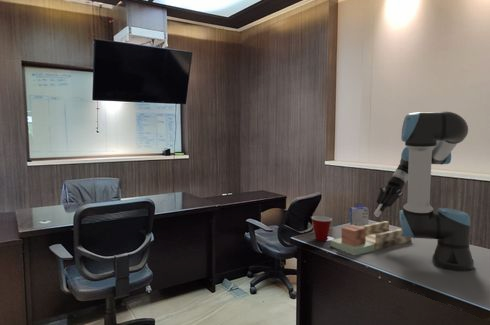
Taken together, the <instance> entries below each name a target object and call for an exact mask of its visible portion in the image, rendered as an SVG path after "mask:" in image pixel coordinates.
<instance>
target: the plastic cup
mask: <svg viewBox="0 0 490 325" xmlns="http://www.w3.org/2000/svg"><path fill="white" fill-rule="evenodd" d="M311 219H312V225H313V230H314V236H315V240H316V241H318V242H325V241H327V240H328V236H329V233H330V232H329V231H330V226H331V222H332V221H333V218H331V217H330V216H329V217H328V216H325V215H324V216H323V215H312V216H311Z"/></svg>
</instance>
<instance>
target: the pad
mask: <svg viewBox="0 0 490 325" xmlns="http://www.w3.org/2000/svg"><path fill="white" fill-rule="evenodd" d="M330 246H331V247H333V248H335V249H338V250H339V249H340V251H343V252H344V251H345V253H346V254H349V253H350V255H352V256H354V257H355V256H360V255H361V254H362V255H363V254H367V253H369V252H375V250H374V244H372V243H369V242H366V243H365V244H361V245H358V246H351V245H348V244H345V243H342V237H339V238H335V239H330Z"/></svg>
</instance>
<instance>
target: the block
mask: <svg viewBox="0 0 490 325" xmlns="http://www.w3.org/2000/svg"><path fill="white" fill-rule="evenodd" d="M341 238H342V243H345V244H348V245H351V246H358V245H361V244H365V243H366V228H363V227H359V226H356V225H350V224H349V225H346V226H342V227H341Z"/></svg>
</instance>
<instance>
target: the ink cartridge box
mask: <svg viewBox="0 0 490 325" xmlns="http://www.w3.org/2000/svg"><path fill="white" fill-rule="evenodd" d="M369 210H370V209H369V208H368V207H366V206H363V204H362V203H355V207H349V225H356V226H364V225H369V224H370V223H369V222H370V220H369V215H370V213H369Z"/></svg>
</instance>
